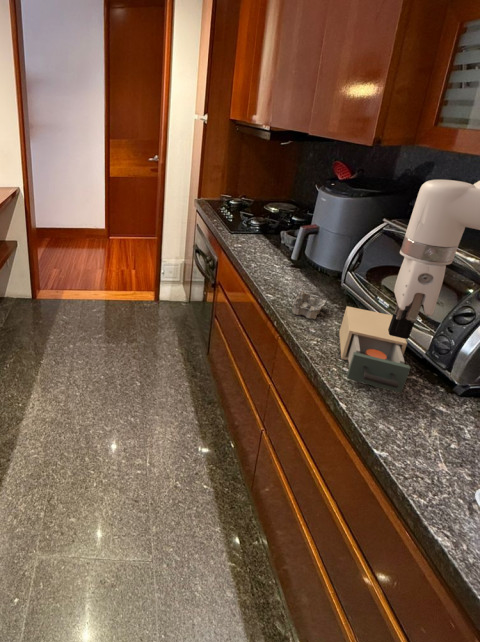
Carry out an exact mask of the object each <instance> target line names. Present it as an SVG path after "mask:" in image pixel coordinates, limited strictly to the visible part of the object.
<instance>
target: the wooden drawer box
mask: <svg viewBox="0 0 480 642" xmlns="http://www.w3.org/2000/svg"><path fill="white" fill-rule="evenodd" d="M392 317H393V314H387V313H383V312H377V311H372V310H369V309H368V310H367V309H362V308H358V307H353V306H348V305H346V307H345V311H344V315H343V317H342V320H341V325H340V329H339V346H340V347H339V348H340V357H341V358H340V359H341V360H345V361H348V351H347V350H348V346H349V343H350V339H351V336H352V334H356V335H361V336H365V337H369V338H374V339H378V340H383V341H387V342H391V343H396V344H399V345H400V348H401V352H402V355H403V356H404V354H405V352H406V348H407V345H408V342H407V339H404V338H399V337H395V336H391V335H389V331H388V329H389V326H390V323H391V320H392Z"/></svg>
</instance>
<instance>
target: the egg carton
mask: <svg viewBox="0 0 480 642" xmlns="http://www.w3.org/2000/svg"><path fill="white" fill-rule="evenodd" d="M325 304H326V300H325V299H322V298H317V297H316V296H314V297H311V294H310V293H308V292H305V290H301V292H299V294H298V296H296V297H295V299H294V300H293V302H292V304H291V306H292V309H291V312H292V313H293V314H294V315H297V316H304V317H305V318H307V319H309V320H310V319H313V320H316V319H317V316H318V315H319V314H320V312H321V311H322V310H323V307H324V306H325Z"/></svg>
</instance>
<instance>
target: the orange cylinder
mask: <svg viewBox="0 0 480 642" xmlns="http://www.w3.org/2000/svg"><path fill="white" fill-rule="evenodd" d="M365 355H368V356H372V357H376V358H380V359H384V360H386V359H387V356H386V355H385V354H384V353H383V352H381V351H378V350H375V349H368V350H366V353H365Z"/></svg>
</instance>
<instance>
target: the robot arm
mask: <svg viewBox="0 0 480 642" xmlns="http://www.w3.org/2000/svg"><path fill="white" fill-rule="evenodd" d="M466 228H469V229H474V230H479V231H480V180H478V181H477V182H474V183H473V184H472V183H469V182H467V181H461V180H452V179H431V180H427V181H425V182H424V183H423V184H421V186H420V188H419V191H418V193H417V197H416V200H415V202H414V206H413V209H412V213H411V215H410V219H409V222H408V225H407V228H406V231H405V235H404V237H403V241H402V244H401V247H400V250H399V254H400V255H401V256H402V257H403V260H402V263H401V265H400V269H399V271H398V274H397V278H396V281H395V283H394V288H393V289H394V290H393V291H394V296H395V300H396V304H395V308H394V313H393V314H392V315H393V317H392V320H391V323H390V326H389V329H388V331H389V335H391V336H395V337H399V338H404V339H406V340H409V339H410V337H411V335H412V334H411V333H412V331H413V328H414V325H415V323H416V322H417V320H418V316H419V313H420V311H421V308H422V310H423V313H424V315H426V316H427V317H431V316H432V315H433V314H434V313H435V312H434V311H435V308H436V305H437V302H438V299H439V296H440V292H441V289H442V286H443V282H444V278H445V273H446V268H447V266H449V265H451V264H452V263H453V261H454V259H455V256H456V253H457V251H458V248H459V245H460V243H461V240H462V237H463V234H464V232H465V229H466Z"/></svg>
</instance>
